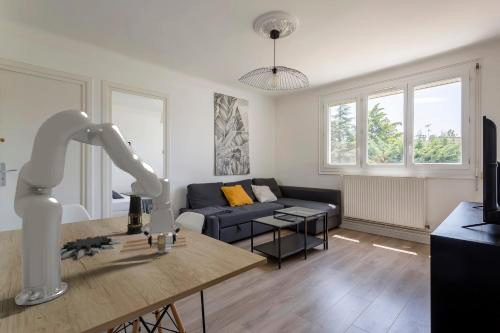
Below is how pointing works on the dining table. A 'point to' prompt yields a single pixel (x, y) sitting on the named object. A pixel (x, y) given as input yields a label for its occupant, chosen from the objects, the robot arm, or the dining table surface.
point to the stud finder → (169, 238)
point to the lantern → (134, 215)
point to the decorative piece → (86, 246)
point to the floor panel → (144, 246)
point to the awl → (161, 243)
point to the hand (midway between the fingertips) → (162, 244)
